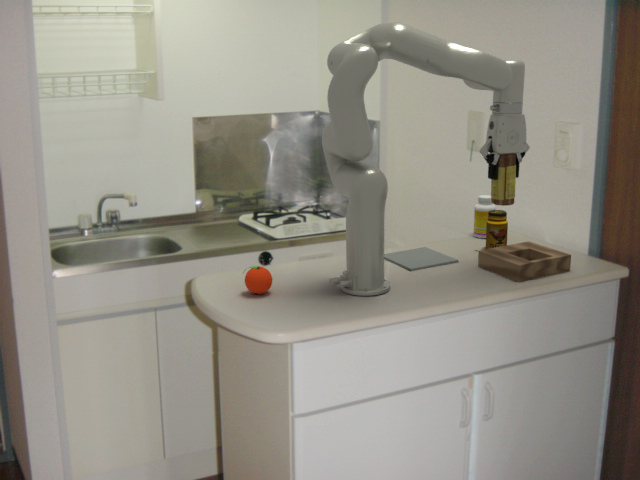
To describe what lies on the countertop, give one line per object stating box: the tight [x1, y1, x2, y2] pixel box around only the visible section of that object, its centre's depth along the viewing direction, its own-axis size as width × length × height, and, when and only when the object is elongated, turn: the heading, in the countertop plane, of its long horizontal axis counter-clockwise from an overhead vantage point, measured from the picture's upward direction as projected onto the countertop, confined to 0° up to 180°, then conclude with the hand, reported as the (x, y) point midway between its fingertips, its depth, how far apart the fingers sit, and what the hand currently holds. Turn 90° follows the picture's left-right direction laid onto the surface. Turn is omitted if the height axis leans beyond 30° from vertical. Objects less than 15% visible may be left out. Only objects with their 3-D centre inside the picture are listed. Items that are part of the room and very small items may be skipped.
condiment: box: [475, 209, 509, 252], centre depth 219 cm, size 7×8×12 cm
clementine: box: [242, 265, 273, 294], centre depth 187 cm, size 8×7×7 cm
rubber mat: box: [384, 246, 459, 272], centre depth 213 cm, size 16×16×1 cm
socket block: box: [477, 240, 572, 283], centre depth 202 cm, size 18×16×4 cm
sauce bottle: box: [490, 153, 517, 206], centre depth 197 cm, size 6×6×20 cm
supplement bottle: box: [473, 194, 497, 239], centre depth 234 cm, size 7×7×13 cm
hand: (503, 177), depth 197 cm, fingers closed on sauce bottle, 6 cm apart
